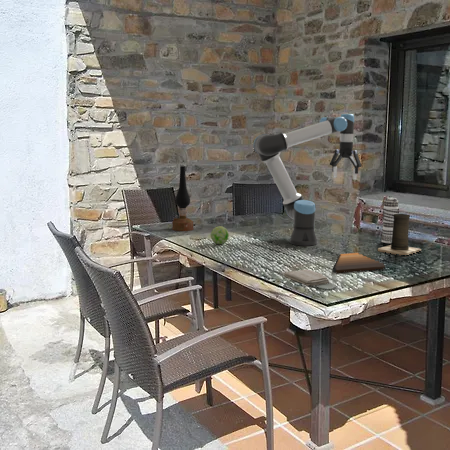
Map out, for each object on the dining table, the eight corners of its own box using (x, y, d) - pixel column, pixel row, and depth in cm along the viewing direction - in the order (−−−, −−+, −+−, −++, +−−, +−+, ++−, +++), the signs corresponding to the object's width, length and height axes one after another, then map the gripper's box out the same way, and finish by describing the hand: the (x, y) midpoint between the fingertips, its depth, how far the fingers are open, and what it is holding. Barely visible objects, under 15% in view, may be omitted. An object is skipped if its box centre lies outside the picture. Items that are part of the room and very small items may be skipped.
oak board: (405, 256, 289) (405, 253, 289) (377, 251, 300) (377, 248, 300) (420, 251, 300) (421, 248, 300) (393, 246, 311) (393, 244, 311)
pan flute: (336, 274, 254) (384, 270, 262) (336, 267, 254) (385, 263, 262) (310, 261, 278) (355, 258, 286) (311, 255, 277) (356, 252, 285)
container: (412, 249, 298) (414, 215, 295) (399, 251, 294) (401, 216, 291) (399, 246, 306) (402, 213, 303) (386, 247, 302) (389, 213, 299)
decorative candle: (394, 244, 319) (397, 199, 315) (378, 242, 324) (381, 198, 320) (399, 241, 327) (402, 198, 322) (383, 239, 332) (385, 196, 327)
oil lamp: (197, 234, 360) (210, 171, 356) (182, 233, 347) (196, 168, 343) (179, 229, 367) (192, 168, 363) (165, 228, 354) (178, 165, 350)
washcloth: (308, 287, 233) (308, 280, 233) (282, 277, 249) (283, 270, 248) (331, 283, 239) (331, 276, 239) (304, 274, 255) (304, 267, 254)
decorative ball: (226, 246, 308) (227, 228, 306) (208, 245, 310) (208, 227, 308) (230, 242, 318) (230, 225, 316) (212, 242, 320) (212, 224, 318)
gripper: (369, 142, 320) (367, 179, 324) (332, 140, 338) (330, 176, 341) (361, 142, 315) (359, 180, 319) (324, 140, 333) (323, 177, 336)
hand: (344, 178), depth 330 cm, fingers open, 13 cm apart
